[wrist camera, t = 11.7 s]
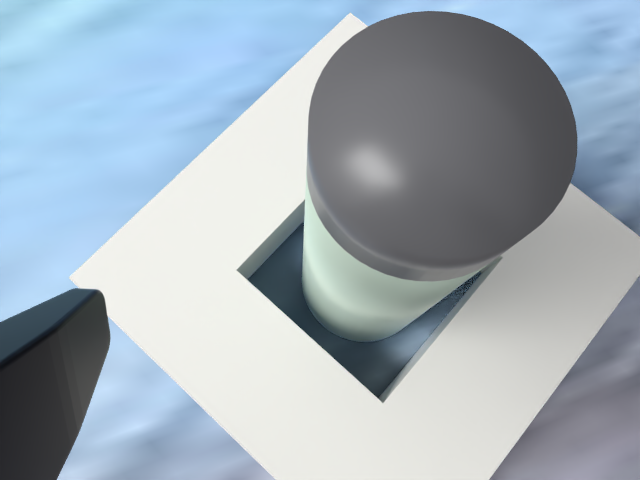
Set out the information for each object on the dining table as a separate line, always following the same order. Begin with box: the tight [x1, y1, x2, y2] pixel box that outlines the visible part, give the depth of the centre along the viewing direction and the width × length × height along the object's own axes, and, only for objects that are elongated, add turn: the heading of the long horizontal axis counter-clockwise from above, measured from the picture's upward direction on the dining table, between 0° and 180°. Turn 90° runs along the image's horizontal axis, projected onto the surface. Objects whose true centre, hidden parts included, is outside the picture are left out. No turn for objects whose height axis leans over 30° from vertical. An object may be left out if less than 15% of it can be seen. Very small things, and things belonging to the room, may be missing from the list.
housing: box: [69, 13, 640, 480], centre depth 22 cm, size 15×15×2 cm
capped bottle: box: [302, 11, 577, 342], centre depth 17 cm, size 5×5×13 cm
